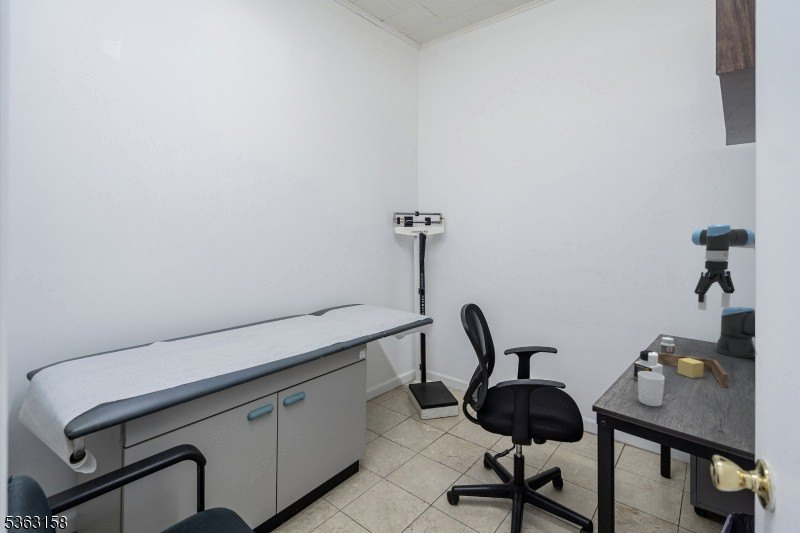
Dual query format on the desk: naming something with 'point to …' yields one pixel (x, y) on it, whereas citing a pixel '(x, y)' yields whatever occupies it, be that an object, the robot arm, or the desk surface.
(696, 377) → the mat
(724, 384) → the angled wooden barrier
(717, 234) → the robot arm
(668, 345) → the pill bottle
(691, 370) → the cube
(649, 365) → the medicine bottle
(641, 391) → the white cup
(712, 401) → the desk surface
